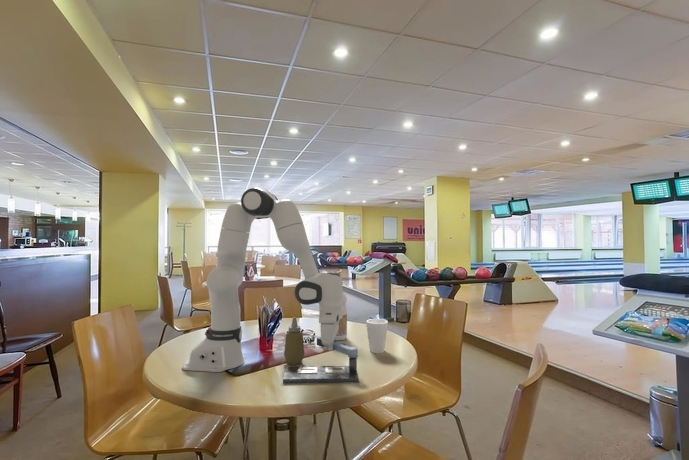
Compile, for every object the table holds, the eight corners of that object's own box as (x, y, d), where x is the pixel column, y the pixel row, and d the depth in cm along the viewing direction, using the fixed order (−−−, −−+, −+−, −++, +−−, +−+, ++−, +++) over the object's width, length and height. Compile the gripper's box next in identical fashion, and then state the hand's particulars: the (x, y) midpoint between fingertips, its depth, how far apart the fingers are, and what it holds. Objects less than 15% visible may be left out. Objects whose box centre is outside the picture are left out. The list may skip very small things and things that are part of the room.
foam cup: (386, 355, 154) (386, 324, 154) (365, 353, 156) (365, 323, 156) (388, 348, 163) (388, 319, 163) (368, 346, 165) (368, 318, 165)
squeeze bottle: (308, 361, 146) (308, 316, 146) (297, 367, 139) (297, 320, 139) (291, 358, 149) (291, 314, 150) (279, 364, 142) (280, 318, 142)
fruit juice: (345, 341, 174) (346, 282, 174) (326, 340, 175) (326, 282, 175) (347, 335, 183) (347, 280, 183) (329, 335, 184) (329, 280, 184)
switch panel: (282, 383, 124) (282, 365, 124) (286, 370, 136) (286, 353, 136) (358, 382, 125) (358, 364, 125) (355, 369, 137) (355, 353, 137)
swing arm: (359, 356, 132) (359, 348, 132) (352, 358, 130) (352, 350, 130) (323, 343, 148) (323, 336, 148) (316, 345, 145) (316, 338, 145)
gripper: (326, 307, 148) (326, 341, 148) (317, 319, 128) (317, 358, 128) (342, 308, 148) (342, 342, 148) (335, 319, 127) (335, 359, 127)
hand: (330, 350), depth 138 cm, fingers closed
